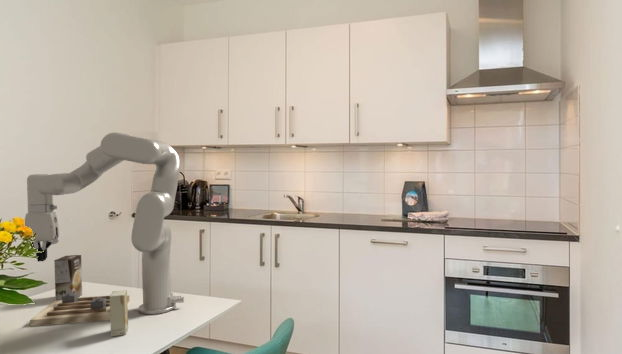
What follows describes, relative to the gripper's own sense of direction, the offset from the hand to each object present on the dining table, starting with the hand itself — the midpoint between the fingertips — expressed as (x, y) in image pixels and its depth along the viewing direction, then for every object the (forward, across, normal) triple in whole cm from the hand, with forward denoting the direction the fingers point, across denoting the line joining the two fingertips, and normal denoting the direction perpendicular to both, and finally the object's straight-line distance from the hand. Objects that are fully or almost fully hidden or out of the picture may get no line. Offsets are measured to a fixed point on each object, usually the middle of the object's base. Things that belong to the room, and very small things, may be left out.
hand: (41, 260), depth 152 cm
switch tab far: (+16, -9, 0) cm, 18 cm away
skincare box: (+18, -32, +27) cm, 46 cm away
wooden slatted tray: (+18, -15, +5) cm, 24 cm away
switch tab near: (+16, -21, +9) cm, 28 cm away
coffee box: (+18, -4, -14) cm, 23 cm away
